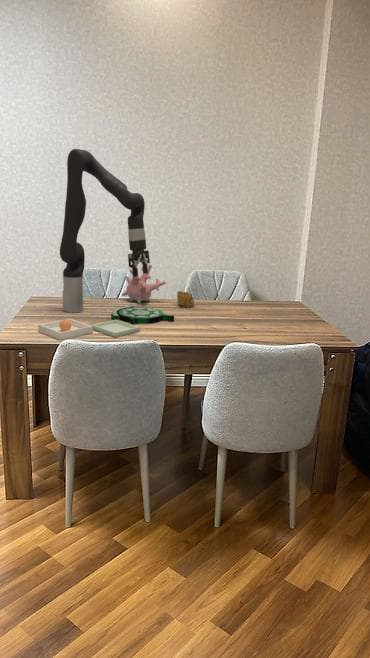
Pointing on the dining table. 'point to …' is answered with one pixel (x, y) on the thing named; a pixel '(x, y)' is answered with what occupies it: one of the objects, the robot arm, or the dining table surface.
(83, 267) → the robot arm
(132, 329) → the tray
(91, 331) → the cream square dish
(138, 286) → the toy
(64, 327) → the ball
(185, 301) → the rock
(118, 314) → the emblem
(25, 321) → the dining table surface
